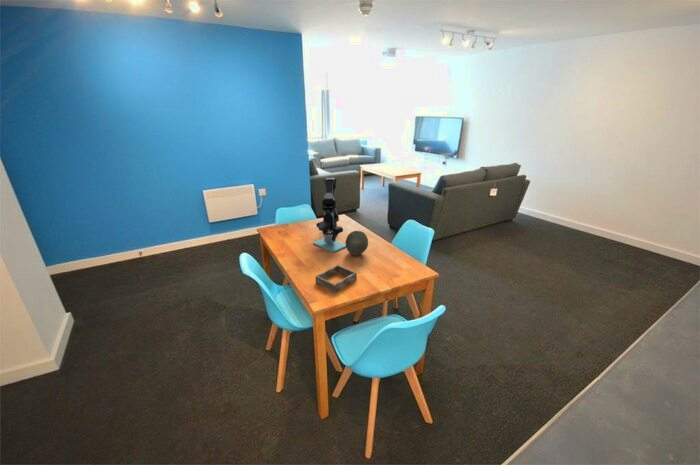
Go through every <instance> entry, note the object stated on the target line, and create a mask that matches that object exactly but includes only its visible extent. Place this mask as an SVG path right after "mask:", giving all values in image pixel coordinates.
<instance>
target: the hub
mask: <svg viewBox="0 0 700 465" xmlns="http://www.w3.org/2000/svg"><path fill="white" fill-rule="evenodd" d="M323 238H324V242H325V243H334V242H335V241H336V240H335V241H333V234H332V231H328V232H326V233H324V234H323Z"/></svg>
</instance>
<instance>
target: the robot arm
mask: <svg viewBox="0 0 700 465" xmlns="http://www.w3.org/2000/svg"><path fill="white" fill-rule="evenodd" d="M323 181H324V184H323V185H325V189H326V190H325V194H324V195H323V199H322V202H321V203H322V204H321V205H322V206H321V207H322V211H324V214H323V217H322V218H323V219H322V221H319V222H317V223H316V228H317V229H318V230H319V231H321V232H322V234H323V235H324V233H326V232H329V230H330V231H331V232H332V234H333V241H336V238H338V235H339V234H341V233H343V232H344V228H343V227H342V226H338V222H339V221H340V217H339V213H338V212H337V207H336V206H337V202H336V199H335V190H336V189H337V185H338V180H337V179H336V178H335V177H326V178H324V180H323Z"/></svg>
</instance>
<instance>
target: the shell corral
mask: <svg viewBox="0 0 700 465" xmlns="http://www.w3.org/2000/svg"><path fill="white" fill-rule="evenodd" d="M337 273H338V274H341V275H343V276H346V277H344V278H343V279H341V280H339V281H338V282H336V283H334V282H331V281H329V280H327V279H329V278H330V277H332V276H334V275H336V274H337ZM357 276H358V274H357V272H356V271H354V270H352V269H350V268H346V267H344V266H342V265H339V264H336V265H334V266H333V267H331V268H329V269H326V270H325V271H323V272H321V273H319V274H316V275H315V284H316V285H318V286H321V287H322V288H325V289H326V290H329V291H331V292H332V293H338V291H340V290H342V289H344V288H345V287H347V286H349V285H350V284H352V283H353V282H354V281H356V280H357V278H358V277H357Z"/></svg>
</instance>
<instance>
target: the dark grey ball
mask: <svg viewBox="0 0 700 465" xmlns="http://www.w3.org/2000/svg"><path fill="white" fill-rule="evenodd" d="M345 244H346V249H347V251H348V253H349V254H351V255H354V256H358V255H362V254H364V252H365V251H366V250H367V248H368V246H369V239H368V236H367V234H366V233H365V232H363V231H361V230H353V231H351V232H349V234H348V235H347V236H346V238H345Z"/></svg>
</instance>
